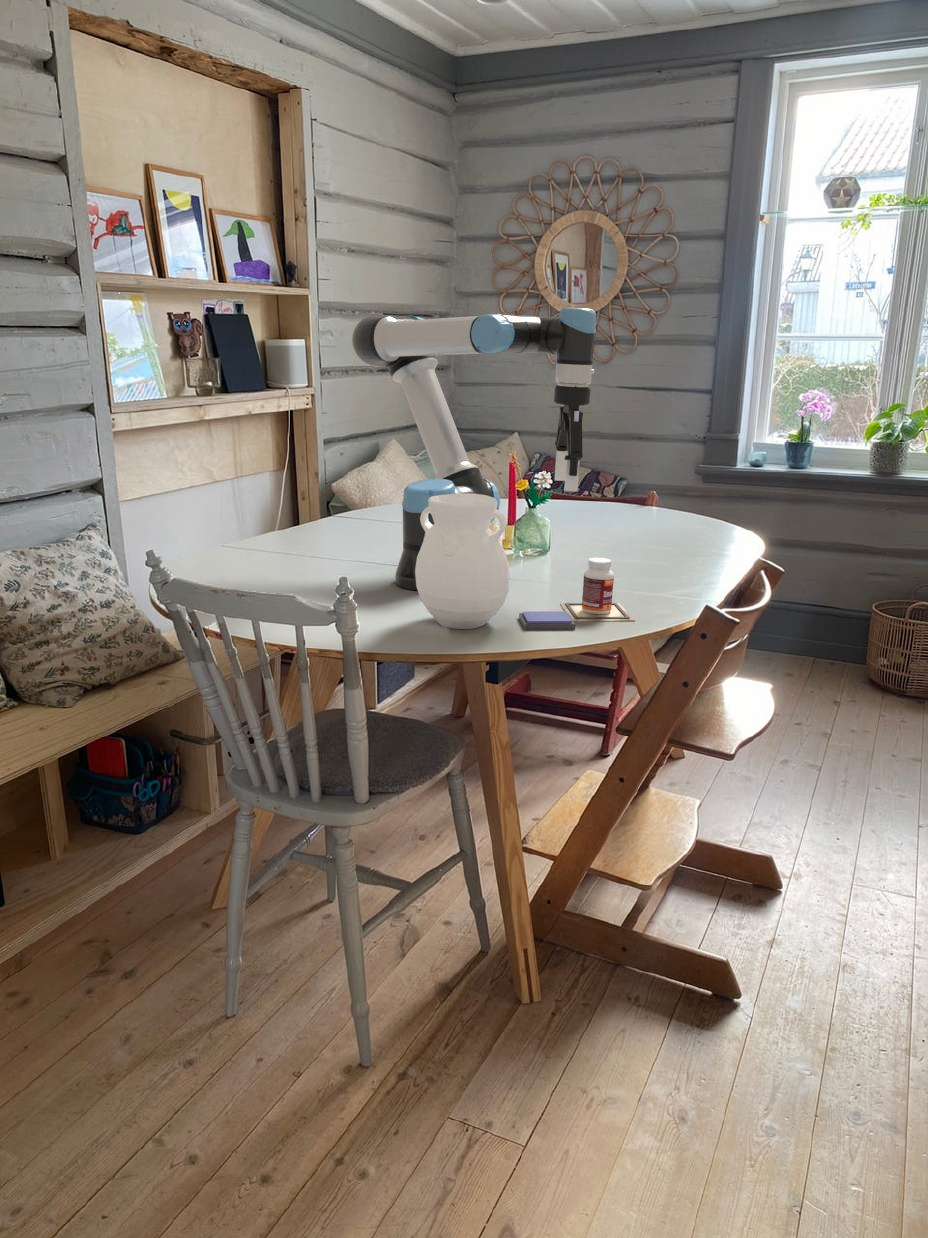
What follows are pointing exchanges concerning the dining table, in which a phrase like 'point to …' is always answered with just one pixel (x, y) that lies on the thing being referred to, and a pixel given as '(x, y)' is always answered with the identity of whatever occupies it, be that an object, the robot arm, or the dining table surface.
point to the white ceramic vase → (462, 560)
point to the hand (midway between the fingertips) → (565, 485)
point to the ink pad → (546, 620)
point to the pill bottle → (598, 587)
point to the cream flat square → (579, 615)
